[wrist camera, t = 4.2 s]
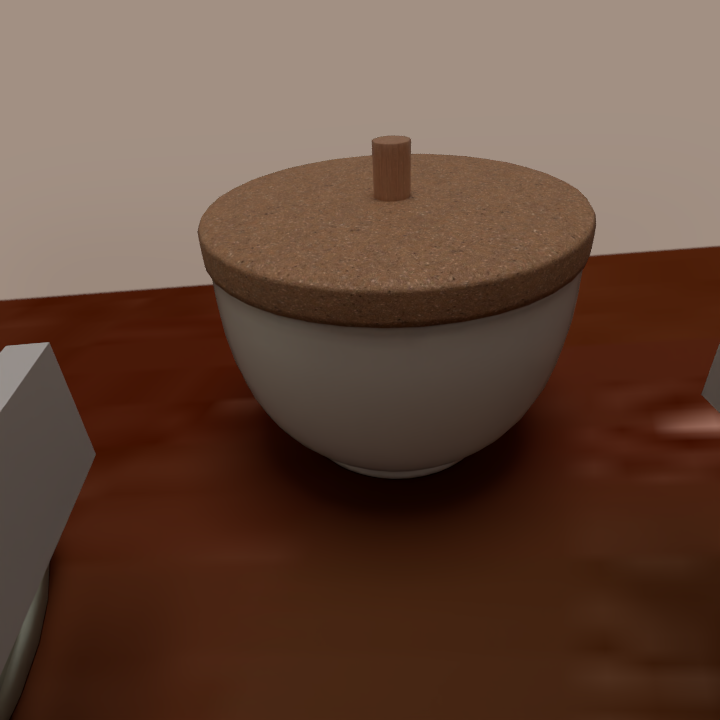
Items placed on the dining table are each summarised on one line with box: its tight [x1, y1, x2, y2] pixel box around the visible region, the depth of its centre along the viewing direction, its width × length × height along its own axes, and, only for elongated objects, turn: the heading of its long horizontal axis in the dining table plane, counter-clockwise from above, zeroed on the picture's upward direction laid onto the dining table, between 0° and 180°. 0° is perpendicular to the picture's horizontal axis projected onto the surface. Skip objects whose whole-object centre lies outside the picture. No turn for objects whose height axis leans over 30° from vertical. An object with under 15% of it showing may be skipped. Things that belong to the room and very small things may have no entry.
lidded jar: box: [198, 136, 596, 479], centre depth 17 cm, size 11×11×9 cm
